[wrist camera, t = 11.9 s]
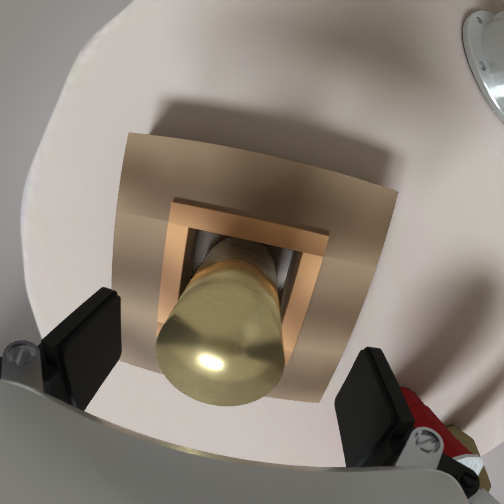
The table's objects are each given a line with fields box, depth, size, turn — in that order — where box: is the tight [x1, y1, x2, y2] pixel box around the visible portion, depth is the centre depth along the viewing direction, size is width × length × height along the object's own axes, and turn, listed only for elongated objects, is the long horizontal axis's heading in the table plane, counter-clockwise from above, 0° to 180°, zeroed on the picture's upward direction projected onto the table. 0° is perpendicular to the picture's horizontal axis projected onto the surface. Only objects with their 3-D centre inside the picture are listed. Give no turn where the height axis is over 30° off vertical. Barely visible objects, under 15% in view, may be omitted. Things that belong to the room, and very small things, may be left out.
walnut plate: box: [112, 133, 398, 403], centre depth 18 cm, size 16×16×3 cm
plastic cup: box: [400, 387, 484, 475], centre depth 18 cm, size 11×11×12 cm
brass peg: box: [156, 237, 285, 406], centre depth 15 cm, size 5×5×10 cm
